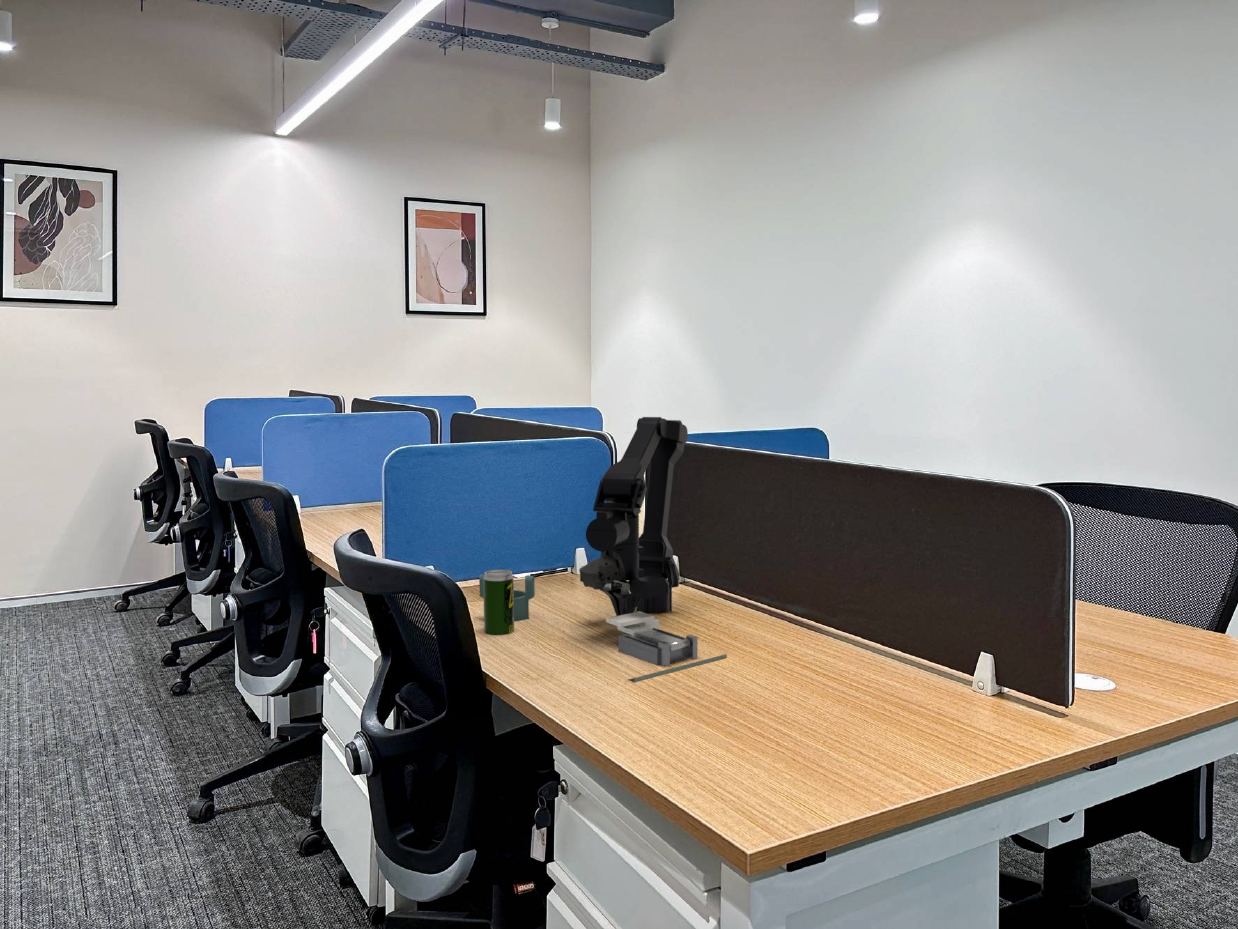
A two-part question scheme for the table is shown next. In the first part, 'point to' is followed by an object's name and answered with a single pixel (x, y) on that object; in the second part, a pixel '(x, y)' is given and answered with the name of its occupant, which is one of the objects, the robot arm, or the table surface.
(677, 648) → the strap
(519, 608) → the bracket
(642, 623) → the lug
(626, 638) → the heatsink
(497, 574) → the beer can
